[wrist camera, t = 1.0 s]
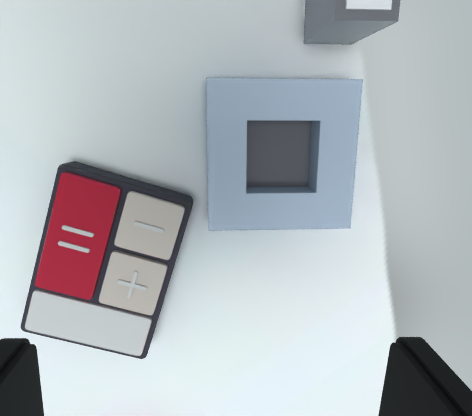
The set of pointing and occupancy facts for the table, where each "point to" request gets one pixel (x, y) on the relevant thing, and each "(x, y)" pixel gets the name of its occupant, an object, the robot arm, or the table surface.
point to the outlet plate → (281, 152)
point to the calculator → (105, 260)
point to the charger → (347, 19)
